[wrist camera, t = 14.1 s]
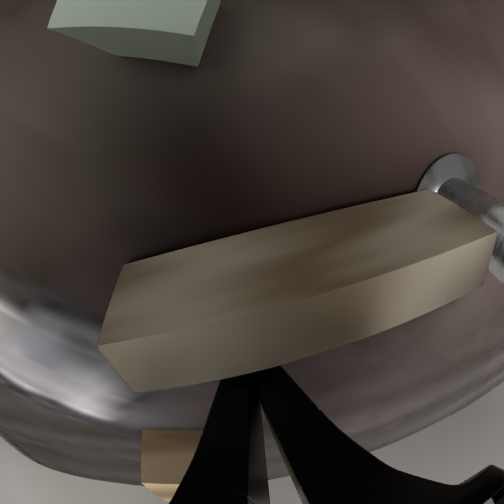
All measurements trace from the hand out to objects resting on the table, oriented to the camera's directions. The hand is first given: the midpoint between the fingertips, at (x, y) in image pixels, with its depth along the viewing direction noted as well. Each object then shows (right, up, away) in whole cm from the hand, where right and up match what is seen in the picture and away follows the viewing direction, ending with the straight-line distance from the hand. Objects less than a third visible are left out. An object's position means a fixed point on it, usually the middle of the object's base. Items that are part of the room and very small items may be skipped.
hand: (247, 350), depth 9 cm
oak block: (-4, -10, +8) cm, 14 cm away
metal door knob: (+8, +5, +1) cm, 10 cm away
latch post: (-2, +9, -3) cm, 10 cm away
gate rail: (+2, +3, +1) cm, 4 cm away
